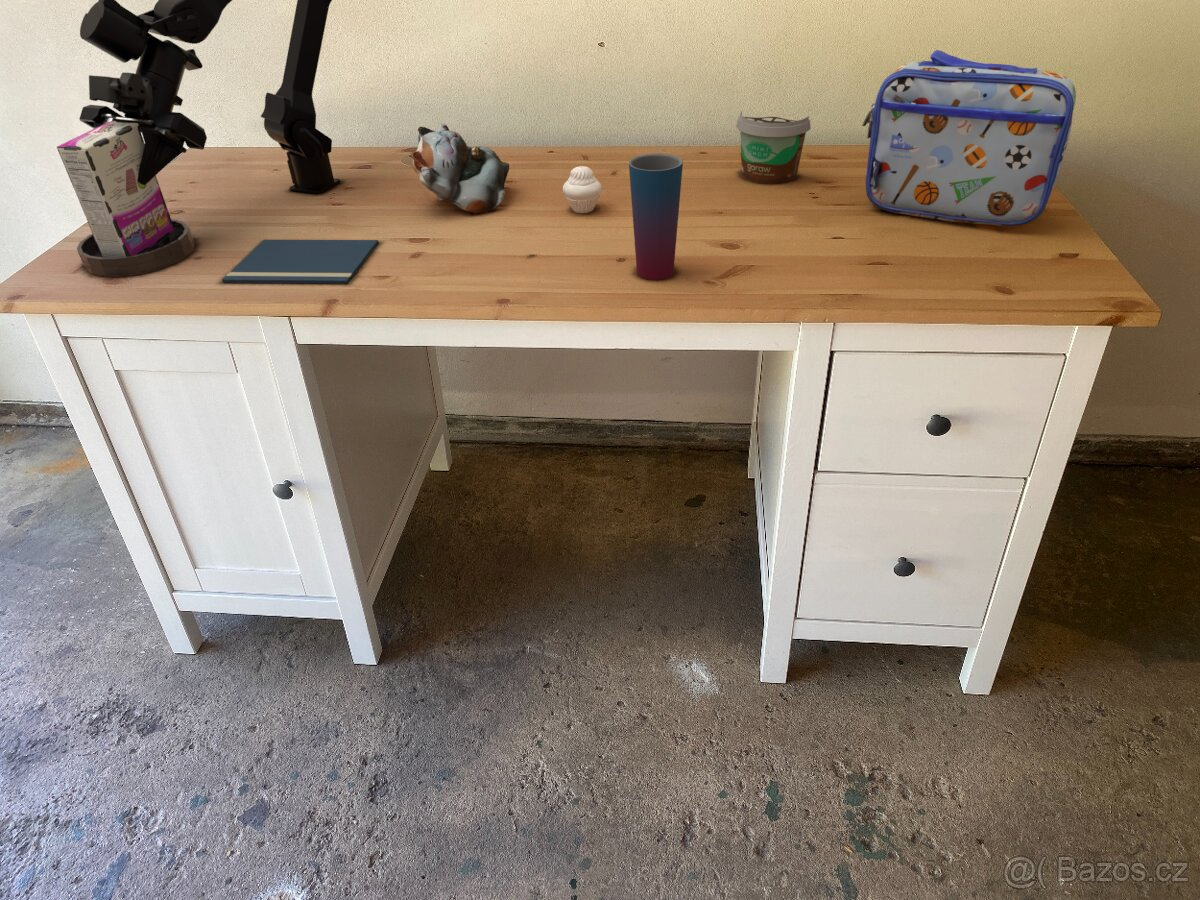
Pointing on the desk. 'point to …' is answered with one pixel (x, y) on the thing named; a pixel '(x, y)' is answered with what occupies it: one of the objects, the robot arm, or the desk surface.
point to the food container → (771, 147)
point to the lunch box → (968, 140)
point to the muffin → (582, 190)
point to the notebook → (302, 261)
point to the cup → (655, 212)
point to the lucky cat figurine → (459, 170)
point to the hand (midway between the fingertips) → (127, 181)
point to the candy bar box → (116, 189)
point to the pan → (138, 255)
